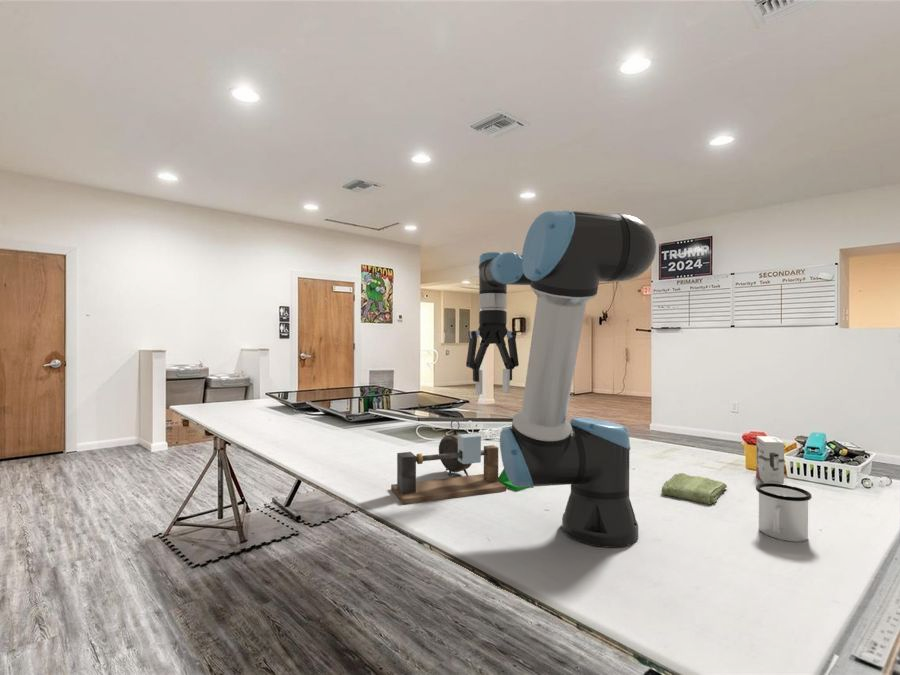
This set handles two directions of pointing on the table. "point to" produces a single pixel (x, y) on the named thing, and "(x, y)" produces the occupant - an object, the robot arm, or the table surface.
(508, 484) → the bracket
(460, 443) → the light blue block
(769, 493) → the mug
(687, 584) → the table surface
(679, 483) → the washcloth
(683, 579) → the table surface
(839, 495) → the table surface
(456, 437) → the alarm clock
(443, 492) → the wooden slider rail stand
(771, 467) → the ink box
